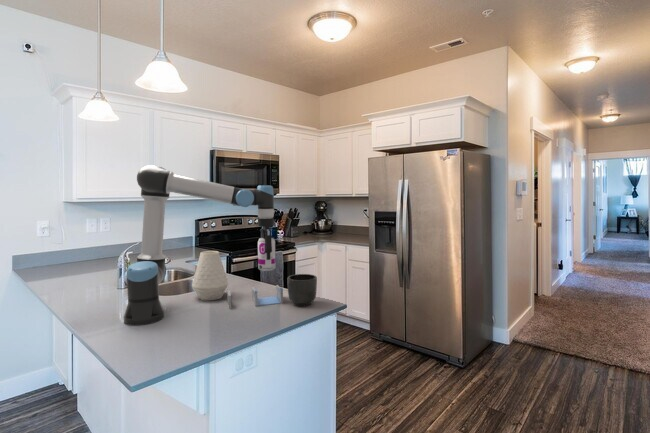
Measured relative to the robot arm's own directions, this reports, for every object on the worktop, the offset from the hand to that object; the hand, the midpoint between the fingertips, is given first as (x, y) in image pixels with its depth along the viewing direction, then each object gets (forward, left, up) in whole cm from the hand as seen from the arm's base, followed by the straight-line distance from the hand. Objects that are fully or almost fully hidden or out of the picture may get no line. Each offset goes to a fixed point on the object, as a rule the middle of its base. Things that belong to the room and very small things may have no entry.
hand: (266, 264), depth 179 cm
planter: (+15, -10, -18) cm, 26 cm away
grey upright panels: (-6, 0, -18) cm, 19 cm away
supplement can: (0, 0, -2) cm, 2 cm away
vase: (-26, +16, -18) cm, 36 cm away
